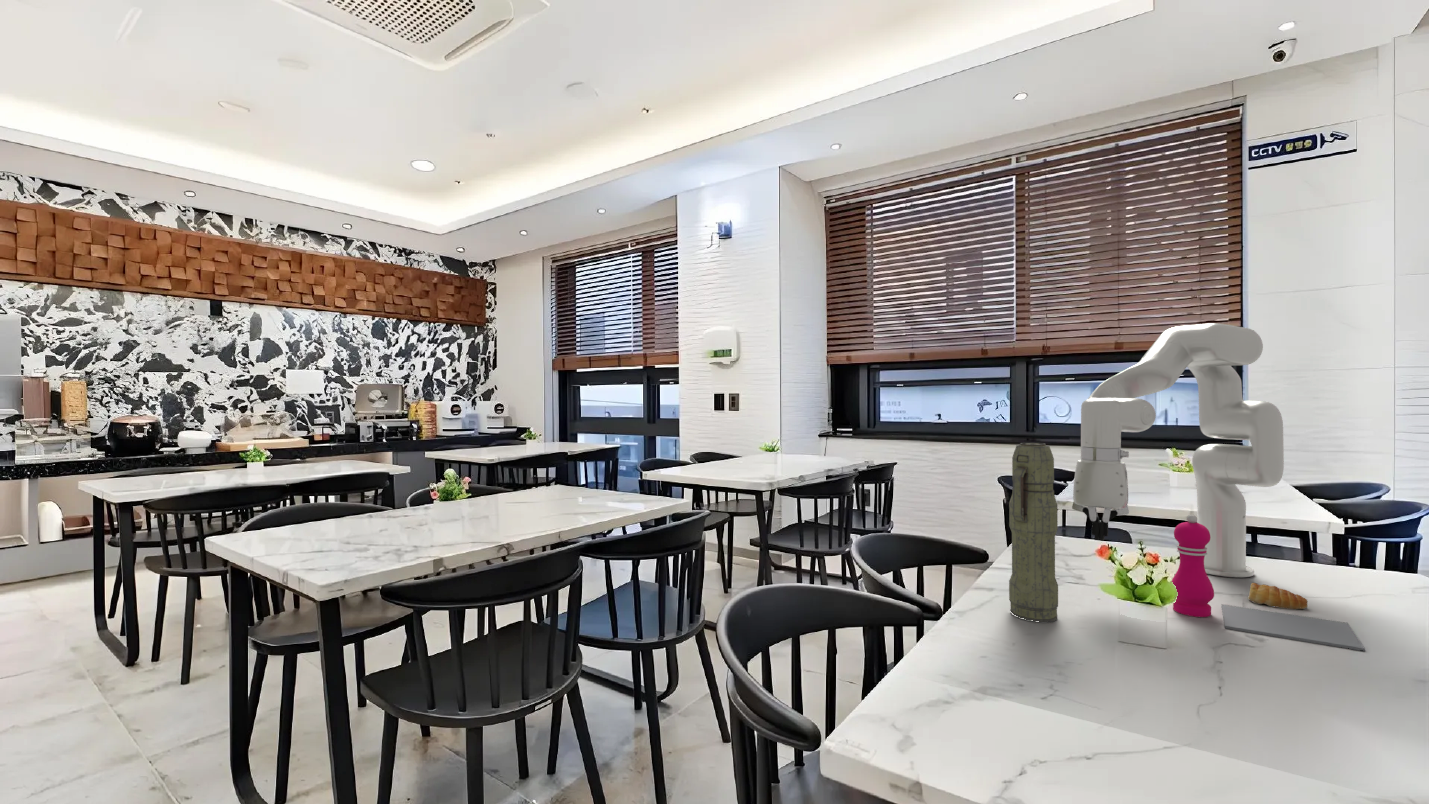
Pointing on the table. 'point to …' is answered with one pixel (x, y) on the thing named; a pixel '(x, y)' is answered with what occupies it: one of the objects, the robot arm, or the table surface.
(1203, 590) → the pepper mill
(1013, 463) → the thermos
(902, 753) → the table surface
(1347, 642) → the mat
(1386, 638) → the table surface
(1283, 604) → the pastry
